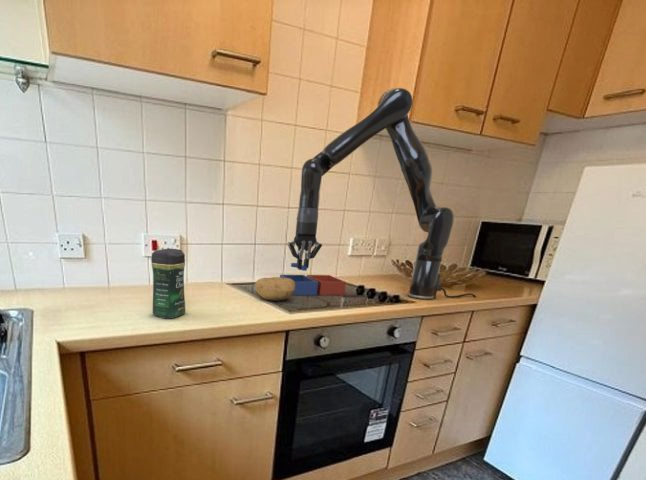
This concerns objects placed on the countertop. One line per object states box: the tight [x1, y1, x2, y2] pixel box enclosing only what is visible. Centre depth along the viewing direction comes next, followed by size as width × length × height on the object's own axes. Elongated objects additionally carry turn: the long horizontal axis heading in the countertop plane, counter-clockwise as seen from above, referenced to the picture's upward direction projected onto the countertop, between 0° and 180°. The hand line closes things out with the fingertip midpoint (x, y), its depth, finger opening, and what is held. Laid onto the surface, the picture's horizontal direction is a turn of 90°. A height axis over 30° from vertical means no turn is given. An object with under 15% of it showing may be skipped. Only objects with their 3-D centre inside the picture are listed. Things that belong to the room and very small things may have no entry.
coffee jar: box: [150, 248, 186, 319], centre depth 114 cm, size 10×8×19 cm
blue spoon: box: [290, 262, 308, 272], centre depth 156 cm, size 12×4×1 cm, turn 14°
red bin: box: [306, 274, 347, 296], centre depth 161 cm, size 10×15×5 cm
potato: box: [254, 276, 296, 302], centre depth 140 cm, size 10×14×8 cm
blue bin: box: [279, 274, 318, 296], centre depth 159 cm, size 10×15×5 cm
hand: (302, 269), depth 153 cm, fingers closed on blue spoon, 1 cm apart
